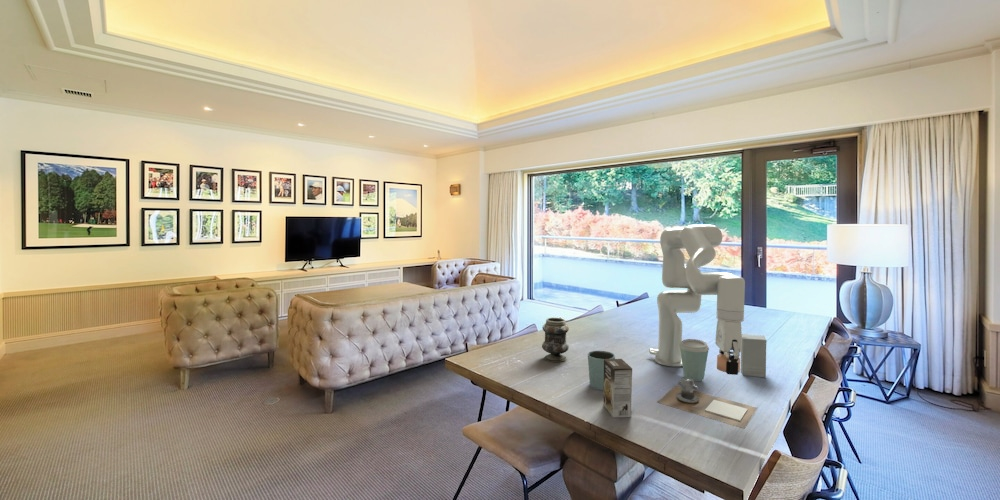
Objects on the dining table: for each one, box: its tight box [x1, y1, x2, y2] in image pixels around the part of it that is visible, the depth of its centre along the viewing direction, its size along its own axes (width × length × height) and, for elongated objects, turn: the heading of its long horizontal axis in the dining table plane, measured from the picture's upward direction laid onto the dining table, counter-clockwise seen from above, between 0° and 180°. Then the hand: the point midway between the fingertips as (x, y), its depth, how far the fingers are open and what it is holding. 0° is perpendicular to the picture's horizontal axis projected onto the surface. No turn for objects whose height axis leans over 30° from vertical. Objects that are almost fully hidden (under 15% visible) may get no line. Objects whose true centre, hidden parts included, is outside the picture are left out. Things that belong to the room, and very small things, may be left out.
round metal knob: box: [676, 377, 699, 404], centre depth 138 cm, size 7×7×7 cm
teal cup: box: [587, 350, 616, 391], centre depth 152 cm, size 10×10×12 cm
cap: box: [716, 352, 741, 374], centre depth 129 cm, size 6×6×5 cm
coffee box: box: [602, 358, 633, 418], centre depth 132 cm, size 9×6×16 cm
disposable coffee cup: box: [679, 338, 710, 382], centre depth 157 cm, size 11×11×15 cm
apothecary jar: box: [541, 317, 570, 363], centre depth 182 cm, size 12×12×18 cm
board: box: [656, 385, 758, 430], centre depth 134 cm, size 26×18×1 cm
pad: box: [705, 400, 748, 421], centre depth 130 cm, size 10×10×1 cm
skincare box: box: [740, 333, 768, 378], centre depth 162 cm, size 8×7×16 cm
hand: (728, 369), depth 129 cm, fingers closed on cap, 6 cm apart
